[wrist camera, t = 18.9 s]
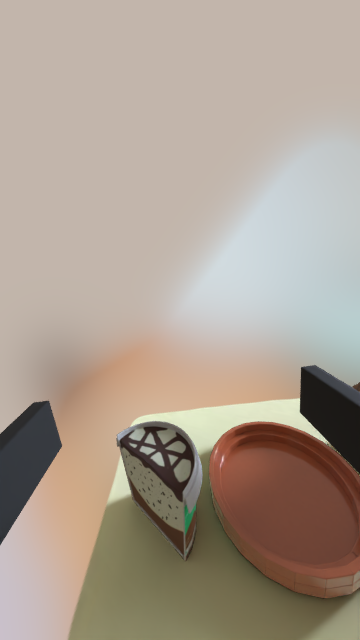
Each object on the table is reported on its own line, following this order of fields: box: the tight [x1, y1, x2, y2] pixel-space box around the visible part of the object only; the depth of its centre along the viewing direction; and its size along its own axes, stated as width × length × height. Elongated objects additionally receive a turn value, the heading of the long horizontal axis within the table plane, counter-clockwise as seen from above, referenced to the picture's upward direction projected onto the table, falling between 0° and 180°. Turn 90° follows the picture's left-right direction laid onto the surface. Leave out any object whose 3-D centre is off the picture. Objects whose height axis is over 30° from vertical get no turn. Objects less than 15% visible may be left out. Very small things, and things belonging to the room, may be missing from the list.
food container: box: [117, 421, 202, 561], centre depth 25 cm, size 12×6×10 cm, turn 48°
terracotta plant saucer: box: [209, 421, 360, 599], centre depth 26 cm, size 18×18×3 cm
